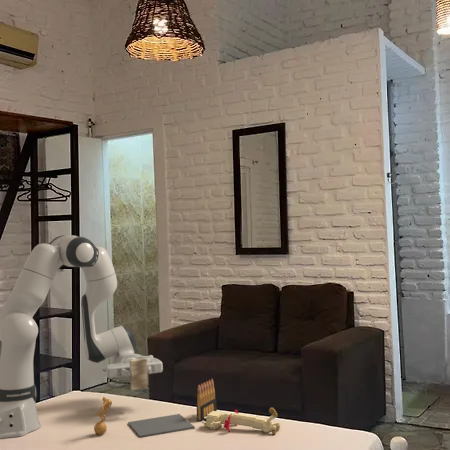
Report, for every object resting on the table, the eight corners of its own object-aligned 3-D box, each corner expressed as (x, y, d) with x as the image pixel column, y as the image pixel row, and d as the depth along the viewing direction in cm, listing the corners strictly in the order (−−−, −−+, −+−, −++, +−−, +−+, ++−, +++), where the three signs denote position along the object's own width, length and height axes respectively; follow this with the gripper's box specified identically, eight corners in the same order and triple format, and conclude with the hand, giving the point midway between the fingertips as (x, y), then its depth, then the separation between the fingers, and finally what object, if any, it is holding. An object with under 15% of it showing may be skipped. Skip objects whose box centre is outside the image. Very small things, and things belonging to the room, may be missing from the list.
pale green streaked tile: (132, 390, 210) (131, 361, 211) (130, 388, 213) (129, 359, 213) (147, 388, 212) (146, 359, 213) (145, 386, 215) (145, 358, 215)
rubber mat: (139, 437, 190) (139, 435, 190) (128, 423, 205) (128, 422, 205) (194, 428, 197) (194, 426, 197) (179, 415, 212) (179, 413, 212)
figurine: (101, 430, 199) (100, 393, 200) (118, 431, 197) (116, 393, 198) (88, 438, 191) (86, 400, 192) (105, 439, 190) (103, 400, 190)
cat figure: (281, 432, 194) (208, 420, 203) (282, 404, 194) (209, 393, 203) (272, 442, 185) (196, 429, 194) (273, 413, 185) (197, 401, 194)
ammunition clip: (201, 421, 204) (200, 385, 204) (196, 421, 205) (195, 385, 205) (217, 412, 213) (215, 378, 213) (212, 412, 214) (210, 377, 214)
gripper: (101, 360, 221) (109, 367, 208) (156, 354, 229) (166, 360, 216) (101, 377, 221) (109, 385, 208) (156, 371, 228) (167, 378, 216)
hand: (139, 373), depth 212 cm, fingers closed on pale green streaked tile, 5 cm apart
